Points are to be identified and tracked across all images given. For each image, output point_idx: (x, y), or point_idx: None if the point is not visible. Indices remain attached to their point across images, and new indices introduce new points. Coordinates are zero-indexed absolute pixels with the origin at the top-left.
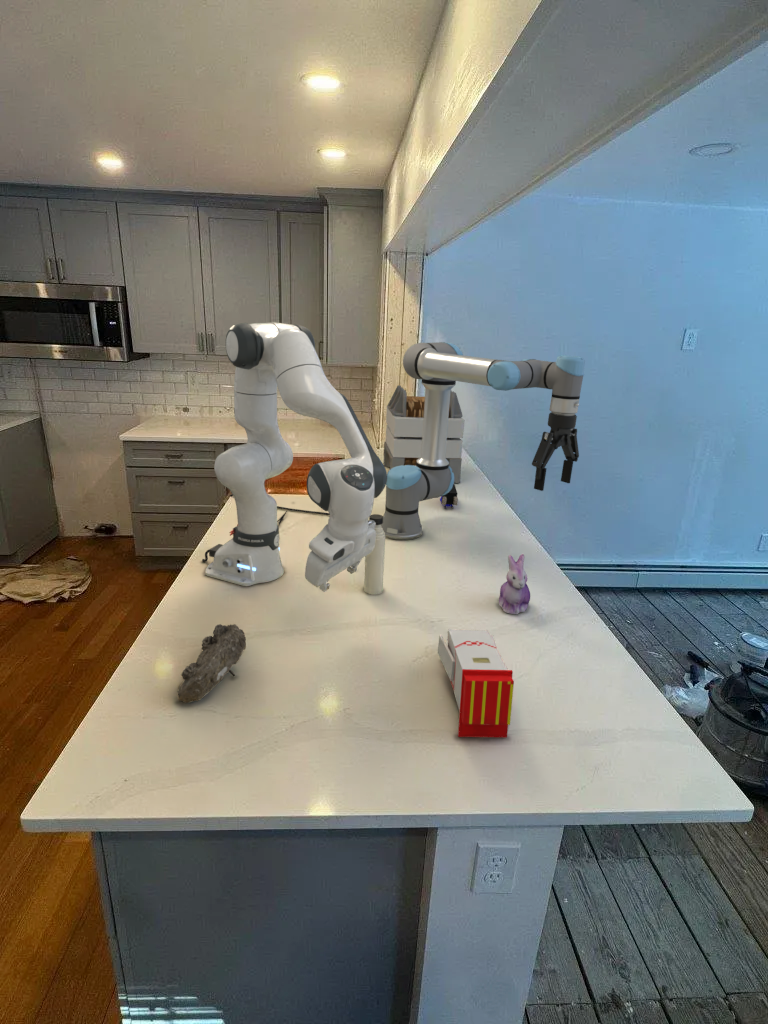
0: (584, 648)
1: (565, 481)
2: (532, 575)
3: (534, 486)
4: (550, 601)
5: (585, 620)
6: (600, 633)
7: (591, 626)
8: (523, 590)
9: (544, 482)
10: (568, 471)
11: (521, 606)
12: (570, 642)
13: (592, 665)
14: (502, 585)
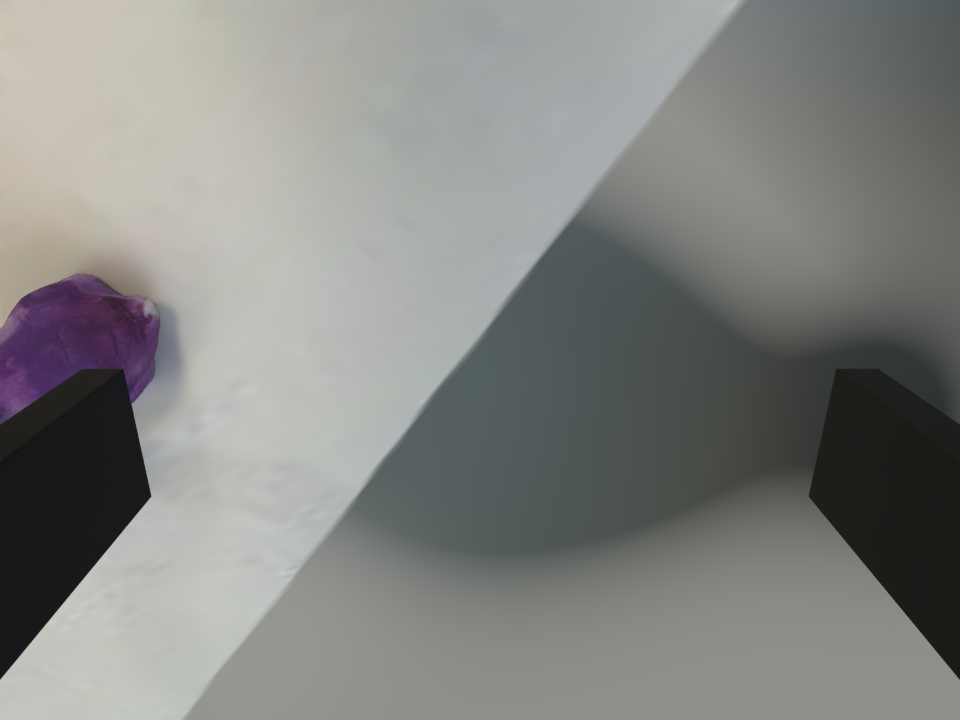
0: (127, 627)
1: (825, 456)
2: (420, 206)
3: (63, 389)
4: (278, 406)
5: (277, 551)
6: (250, 615)
7: (261, 580)
8: None
9: (79, 580)
10: (930, 598)
11: None
12: (112, 590)
13: (78, 676)
14: (12, 312)
